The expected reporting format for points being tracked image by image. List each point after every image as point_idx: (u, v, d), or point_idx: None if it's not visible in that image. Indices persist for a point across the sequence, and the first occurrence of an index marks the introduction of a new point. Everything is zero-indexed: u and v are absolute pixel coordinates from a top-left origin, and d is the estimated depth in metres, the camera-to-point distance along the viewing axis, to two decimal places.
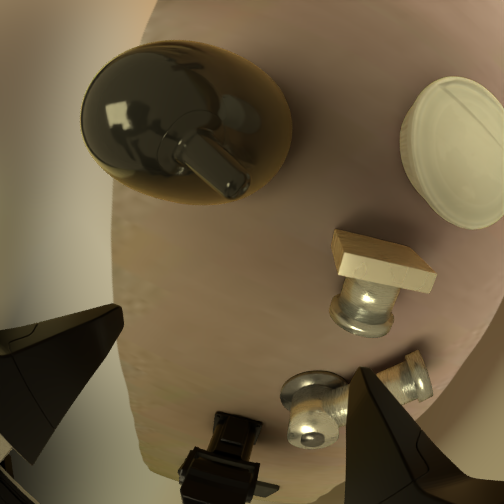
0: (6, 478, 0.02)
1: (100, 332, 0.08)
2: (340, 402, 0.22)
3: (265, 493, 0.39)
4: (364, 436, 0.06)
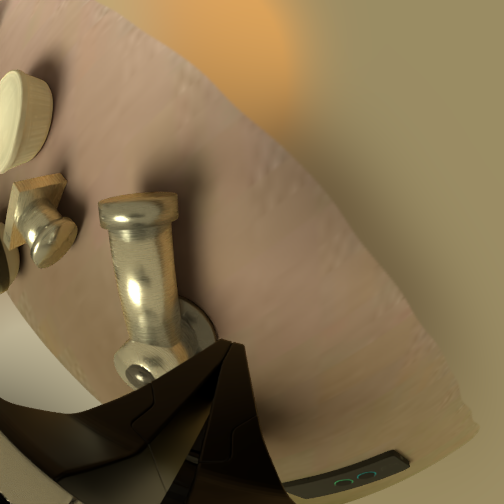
0: (6, 478, 0.02)
1: (219, 376, 0.07)
2: None
3: (395, 466, 0.25)
4: None
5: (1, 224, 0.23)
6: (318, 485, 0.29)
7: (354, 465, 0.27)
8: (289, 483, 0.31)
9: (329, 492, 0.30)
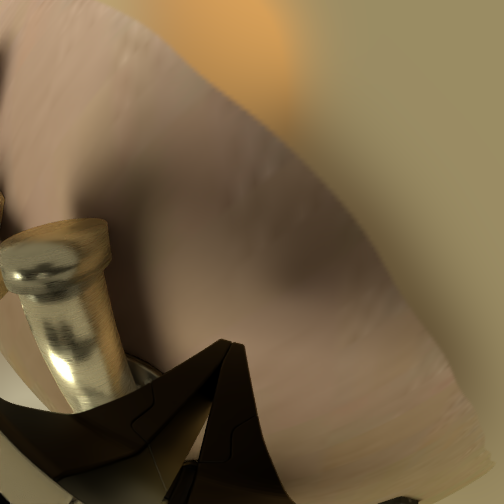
0: (6, 478, 0.02)
1: None
2: None
3: None
4: None
5: None
6: None
7: None
8: None
9: None
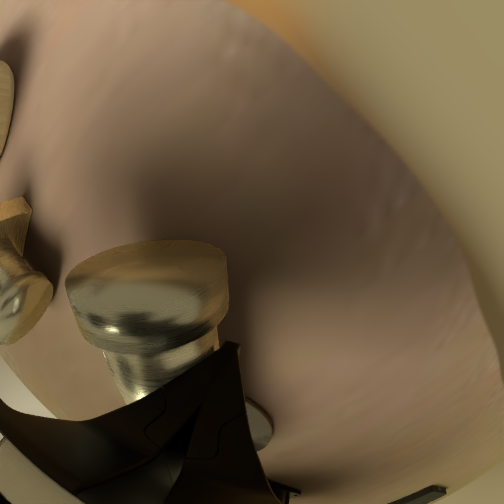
0: (6, 478, 0.02)
1: None
2: None
3: (433, 496, 0.17)
4: None
5: None
6: None
7: (392, 503, 0.19)
8: None
9: None
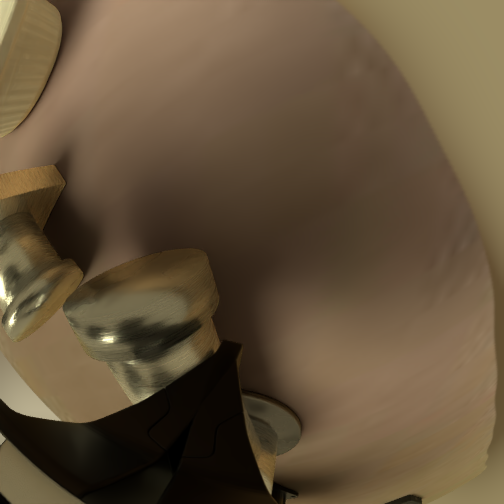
0: (6, 478, 0.02)
1: None
2: None
3: None
4: None
5: None
6: None
7: None
8: None
9: None
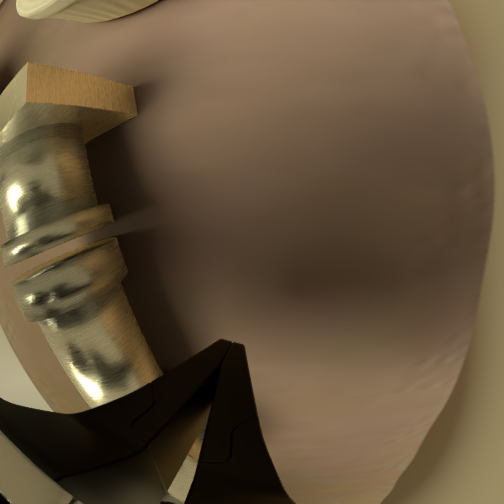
0: (6, 478, 0.02)
1: (219, 376, 0.07)
2: None
3: None
4: None
5: None
6: None
7: None
8: None
9: None
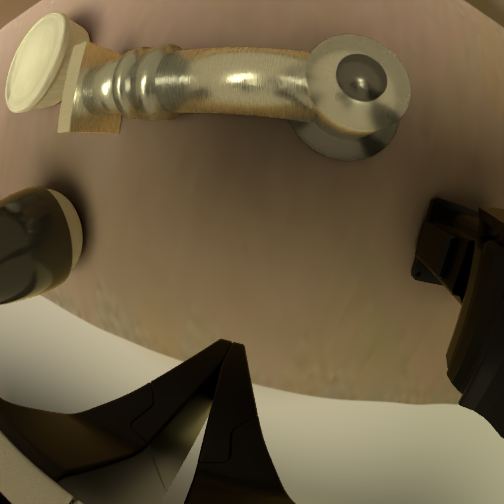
0: (6, 478, 0.02)
1: (219, 376, 0.07)
2: (282, 111, 0.13)
3: None
4: None
5: None
6: None
7: None
8: None
9: None
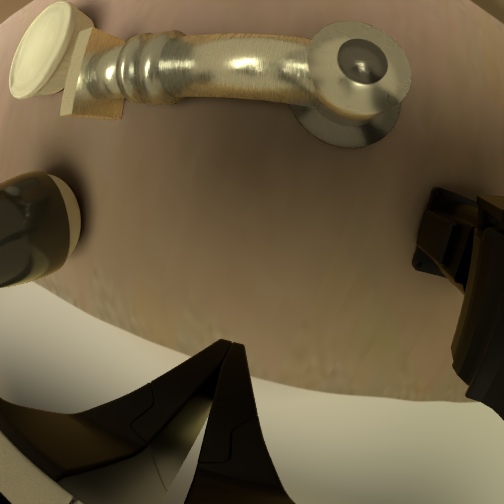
0: (6, 478, 0.02)
1: None
2: (284, 94, 0.13)
3: None
4: None
5: None
6: None
7: None
8: None
9: None
